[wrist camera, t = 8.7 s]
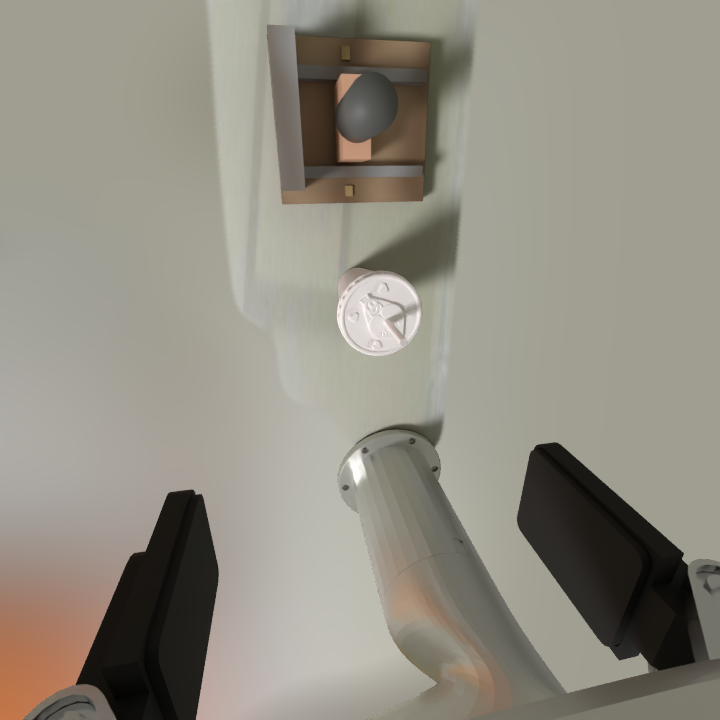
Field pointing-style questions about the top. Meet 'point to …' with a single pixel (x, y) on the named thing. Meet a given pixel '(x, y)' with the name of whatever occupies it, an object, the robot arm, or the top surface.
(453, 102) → the top surface
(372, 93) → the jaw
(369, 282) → the smoothie
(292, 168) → the vise base
